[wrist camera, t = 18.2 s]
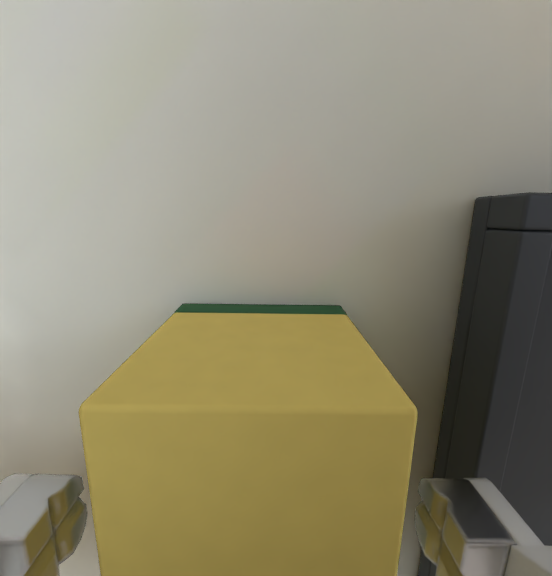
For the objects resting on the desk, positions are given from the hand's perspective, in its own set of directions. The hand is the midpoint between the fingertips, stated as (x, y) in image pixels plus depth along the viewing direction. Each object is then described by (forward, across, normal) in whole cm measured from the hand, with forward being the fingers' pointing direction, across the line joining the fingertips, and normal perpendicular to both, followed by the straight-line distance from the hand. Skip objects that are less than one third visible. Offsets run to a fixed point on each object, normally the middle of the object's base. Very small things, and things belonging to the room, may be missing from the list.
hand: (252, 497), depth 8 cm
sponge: (+2, 0, 0) cm, 2 cm away
